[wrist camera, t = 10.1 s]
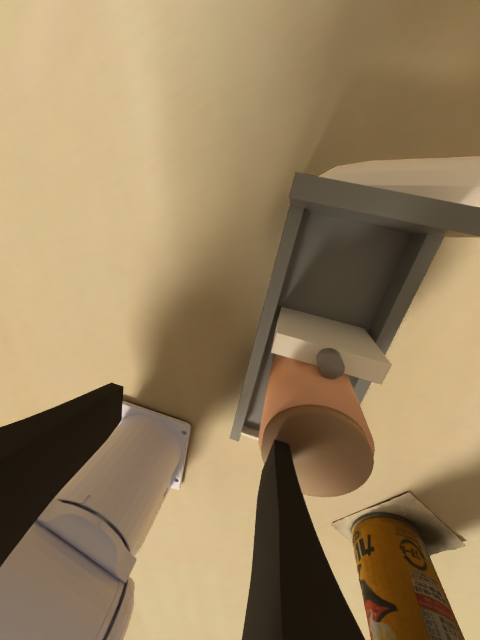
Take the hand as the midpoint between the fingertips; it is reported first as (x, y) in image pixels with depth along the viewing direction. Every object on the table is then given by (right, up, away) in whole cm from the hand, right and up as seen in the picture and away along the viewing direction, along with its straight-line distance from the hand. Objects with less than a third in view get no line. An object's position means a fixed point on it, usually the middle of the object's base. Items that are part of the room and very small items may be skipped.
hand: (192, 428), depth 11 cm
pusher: (+8, +5, +7) cm, 11 cm away
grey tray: (+7, +3, +7) cm, 11 cm away
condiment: (+17, -15, +12) cm, 25 cm away
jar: (+7, +2, +7) cm, 10 cm away
